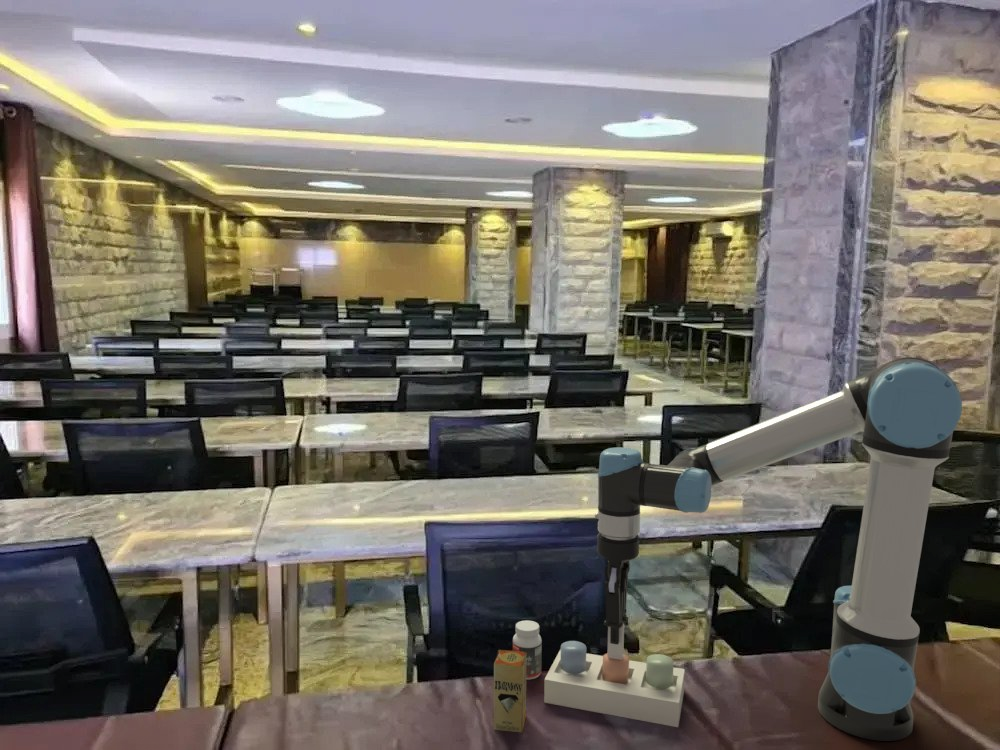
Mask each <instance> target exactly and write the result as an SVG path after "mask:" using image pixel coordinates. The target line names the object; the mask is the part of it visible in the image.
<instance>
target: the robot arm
mask: <svg viewBox="0 0 1000 750" xmlns="http://www.w3.org/2000/svg"><path fill="white" fill-rule="evenodd" d="M961 396H962V395H961V393H960V390H959V388H958V386H957V385H956V383H955V382H954V380H953V379H952V378H951V376H950V375H948V374H947V373H946V372H945V371H943V370H942V369H940V367H938V366H937V365H936V364H934V363H933V362H931V361H929V360H926V359H923V358H919V357H912V356H907V357H899V358H895V359H892V360H890V361H888V362H885V363H884V364H882V365H880V366H878V367H876V368H875V369H872V370H871V371H869V372H867V373H865V374H863V375H860V376H858V377H856V378H854V379H851V380H849V381H847V382H845V383H844V385H843V387H842V390H840V391H837V392H835V393H833V394H830V395H828V396H827V395H826V396H824V397H823V398H820V399H817V400H814V401H812V402H810V403H807V404H804V405H802V406H800V407H797V408H794V409H792V410H789V411H787V412H784V413H782V414H779V415H776V416H773V417H771V418H769V419H766V420H763V421H762V422H758V423H756V424H753V425H751V426H748V427H746V428H743V429H741V430H739V431H735V432H733V433H731V434H728V435H725V436H722V437H720V438H718V439H715V440H713V441H710V442H708V443H706V444H703V445H700V446H698V447H691V448H687V449H685V450H683V451H680V452H679V453H678V454H677V455H675V457H674V458H673V460H671V461H670V462H669V463H668V464H666V465H664V464H655V463H648V462H643V459H642V453H641V451H639V450H638V449H635V448H630V447H622V446H621V447H620V446H619V447H608V448H606V449H604V450H603V451H601V453H600V454H599V455H600V456H599V464H598V472H597V477H598V480H597V481H598V482H597V484H598V486H597V491H598V492H597V493H598V495H597V496H598V497H597V498H598V500H597V501H598V503H597V505H598V506H597V509H598V510H597V513H595V514H594V518H595V519H598V521H597V531H598V534H597V537H596V538H597V539H596V541H597V543H596V552H597V554H598V556H600V557H601V558H603V559H606V560H607V565H605V567H604V576H605V581H604V583H603V586H604V592H605V593H604V594H605V597H604V598H605V620H604V622H603V626H606V627H607V658H612V659H618V660H622V659H623V654H624V649H625V648H624V643H625V641H624V640H625V623H628V622H629V617H628V616H625V614H627V600H628V599H627V595H628V583H629V573H630V568H631V563H630V561H631V560H634V559H636V558H637V557H638V556H639V553H640V537H639V534H640V531H641V530H640V529H641V506H644V507H651V508H657V509H659V508H660V509H664V510H672V511H679V512H683V513H698V514H699V513H700V514H702V513H705V512H706V511H707V510H708V508H709V506H710V505H709V504H710V502H711V497H712V487H713V486H715V485H718V484H720V483H722V482H725V481H727V480H731V479H733V478H735V477H739V476H741V475H744V474H747V473H751V472H753V471H755V470H759V469H761V468H763V467H765V466H770V465H772V464H774V463H778V462H780V461H784V460H786V459H788V458H792V457H795V456H797V455H801V454H802V453H805V452H808V451H811V450H813V449H816V448H819V447H822V446H825V445H827V444H830V443H833V442H836V441H839V440H841V439H844V438H847V437H850V436H853V435H855V434H858V433H863V434H862V442H861V444H862V447H863V448H864V449H865V451H867V453H868V455H870V462H869V469H868V474H867V483H866V489H865V493H864V494H865V496H864V502H863V508H862V515H861V521H860V526H859V527H860V529H859V533H858V534H859V535H858V541H857V547H856V553H855V554H856V555H855V562H854V566H853V567H854V568H853V569H854V570H853V576H852V582H851V585H843V586H840V587H838V588H837V589H836V590H835V592H834V593H835V594H834V600H832V603H833V616H832V617H833V618H832V632H831V635H832V636H831V644H830V645H831V647H830V658H829V661H828V672H827V673H826V676H825V678H824V681H823V683H822V685H821V687H820V689H819V692H818V694H817V695H818V697H817V699H818V700H817V709H818V712H819V714H820V715H821V716H822V718H823V719H824V720H825V721H827V723H829V724H830V725H832V727H835V728H837V729H839V730H840V731H843V732H844V733H847V734H849V735H852V736H855V737H858V738H861V739H865V740H871V741H876V742H878V741H879V742H894V741H895V742H896V741H901V740H903V739H905V738H907V737H909V736H910V735H911V734H912V732H913V728H914V712H913V709H912V705H911V700H912V699H913V697H914V694H915V690H916V685H917V680H916V675H915V662H916V657H917V651H918V650H917V649H918V644H919V637H920V631H921V630H920V626H919V624H918V623H917V622H916V621H915V620H914V619H913V617H912V616H911V614H912V608H913V603H914V596H915V591H916V584H917V580H918V579H917V578H918V572H919V566H920V559H921V554H922V548H923V542H924V536H925V530H926V523H927V517H928V511H929V505H930V498H931V493H932V488H933V487H932V486H933V480H934V477H935V476H934V474H935V469H936V468H937V466H939V465H940V464H942V463H944V462H945V461H947V460H948V459H949V458H950V451H951V446H952V440H953V433H954V432H955V429H956V428H957V426H958V424H959V421H960V419H961V417H962V411H963V401H962V397H961ZM624 622H625V623H624Z"/></svg>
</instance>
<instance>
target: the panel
mask: <svg viewBox="0 0 1000 750" xmlns="http://www.w3.org/2000/svg"><path fill="white" fill-rule="evenodd" d="M602 673H603V655H599V654H592V653H587V652H586V670H585V671H584V672H582V673H578V674H571V673H567V672H565V671H563V670H562V669H561V648H560V649H559V651H558V653H557V654H556V657H555V659H553V663H552V664H551V666H550V668H549V670H548V672H547V674H546V676H544V677H545V678H544V681H543V682H544V690H543V691H544V697H543V701H544V704H550V705H556V706H560V707H566V708H572V709H577V710H578V709H579V710H582V711H588V712H591V713H592V712H593V713H598V714H599V713H600V714H604V715H610V716H615V717H620V718H626V719H630V720H638V721H642V722H648V723H653V724H657V725H658V724H659V725H664V726H668V727H669V726H670V727H673V728H679V726H680V719H681V712H682V707H683V700H684V695H685V694H684V693H685V673H686V670H685V669H684V668H681V667H674V666H673V685H672V686H671V687H669V688H665V689H660V688H655V687H652V686H650V685H649V684H648V683H647V682H646V662H643V661H637V660H630V659H629V681H628V683H626V684H620V683H614V682H608V681H603V679H602Z"/></svg>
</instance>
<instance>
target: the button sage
mask: <svg viewBox="0 0 1000 750" xmlns="http://www.w3.org/2000/svg"><path fill="white" fill-rule="evenodd" d="M645 663H646V682H647V683H648V684H649V685H650V686H652V687H655V688H660V689H665V688H669V687H671V686H672V685H673V667H674V659H673V658H671V657H670V656H668V655H666V654H661V653H655V654H649V656H647V657H646V662H645Z"/></svg>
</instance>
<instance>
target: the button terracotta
mask: <svg viewBox="0 0 1000 750" xmlns="http://www.w3.org/2000/svg"><path fill="white" fill-rule="evenodd" d="M602 656H603V673H602V679H603V681H608V682H614V683H620V684H626V683H628V681H629V660H630V658H629V656H628V655H627V654H625V653H623V659H622V660H618V659H612V658H607V653H604V654H603V655H602Z"/></svg>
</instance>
